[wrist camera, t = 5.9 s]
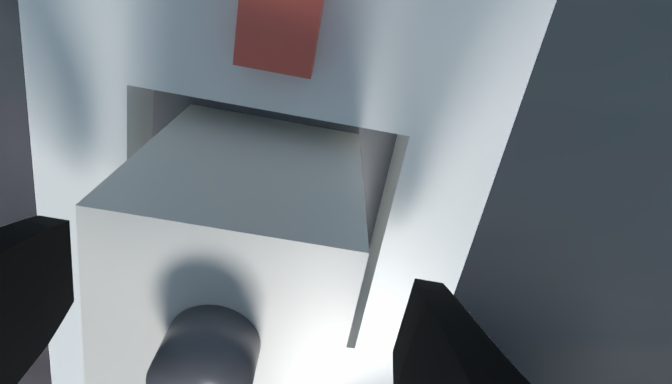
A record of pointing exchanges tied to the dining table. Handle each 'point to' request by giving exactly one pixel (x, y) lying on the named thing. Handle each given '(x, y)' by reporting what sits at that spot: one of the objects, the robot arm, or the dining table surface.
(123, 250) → the plug
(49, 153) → the socket plate
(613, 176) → the dining table surface
